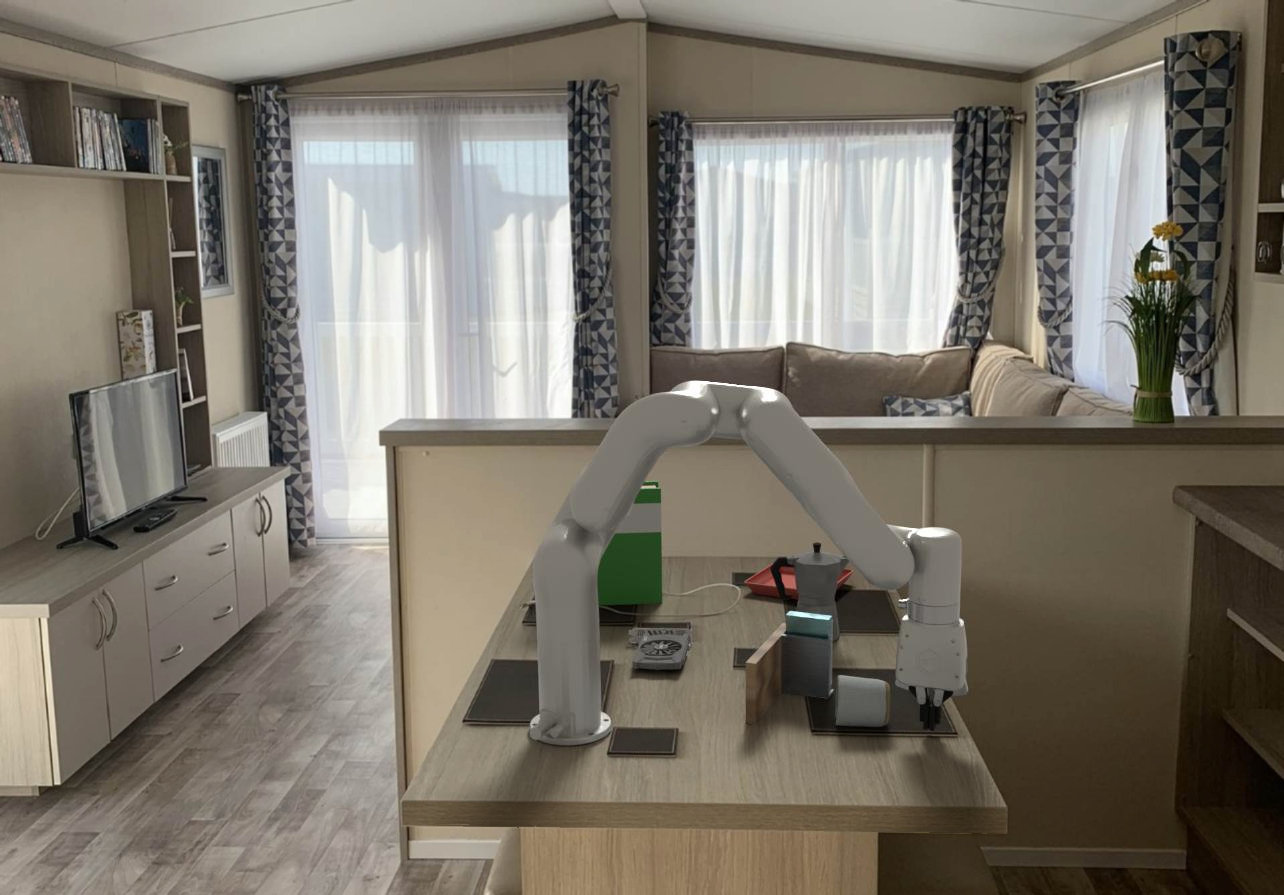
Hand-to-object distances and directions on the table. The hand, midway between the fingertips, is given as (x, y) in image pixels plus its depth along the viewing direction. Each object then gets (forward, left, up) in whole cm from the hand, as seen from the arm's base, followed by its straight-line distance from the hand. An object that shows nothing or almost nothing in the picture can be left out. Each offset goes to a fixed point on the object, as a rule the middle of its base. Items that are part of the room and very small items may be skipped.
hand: (930, 726), depth 188 cm
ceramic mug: (+1, +11, -2) cm, 11 cm away
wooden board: (+4, +27, -1) cm, 27 cm away
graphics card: (+16, +51, -2) cm, 54 cm away
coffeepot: (+37, +29, -2) cm, 47 cm away
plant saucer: (+65, +39, -2) cm, 76 cm away
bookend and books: (+11, +22, -1) cm, 24 cm away
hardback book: (+45, +72, -2) cm, 85 cm away
